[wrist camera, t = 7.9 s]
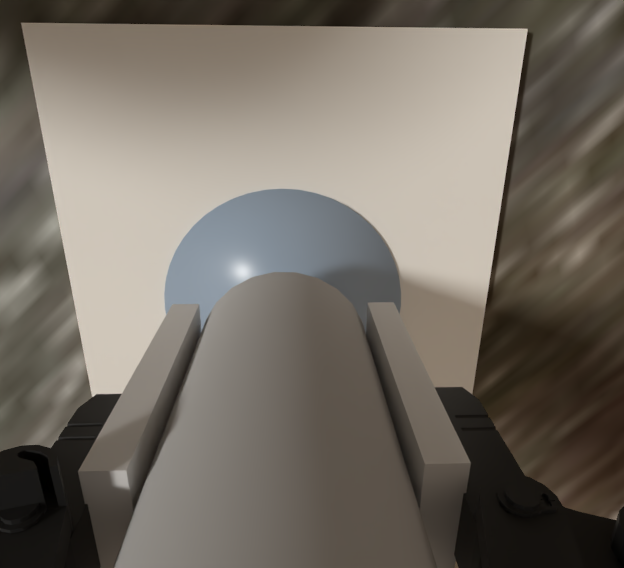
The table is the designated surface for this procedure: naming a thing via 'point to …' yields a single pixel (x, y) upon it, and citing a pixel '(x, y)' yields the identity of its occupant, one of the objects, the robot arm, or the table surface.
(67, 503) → the robot arm
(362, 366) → the beverage can
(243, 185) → the paper sheet
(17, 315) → the table surface
